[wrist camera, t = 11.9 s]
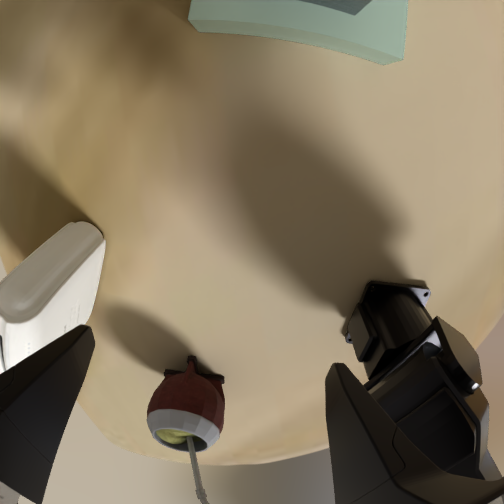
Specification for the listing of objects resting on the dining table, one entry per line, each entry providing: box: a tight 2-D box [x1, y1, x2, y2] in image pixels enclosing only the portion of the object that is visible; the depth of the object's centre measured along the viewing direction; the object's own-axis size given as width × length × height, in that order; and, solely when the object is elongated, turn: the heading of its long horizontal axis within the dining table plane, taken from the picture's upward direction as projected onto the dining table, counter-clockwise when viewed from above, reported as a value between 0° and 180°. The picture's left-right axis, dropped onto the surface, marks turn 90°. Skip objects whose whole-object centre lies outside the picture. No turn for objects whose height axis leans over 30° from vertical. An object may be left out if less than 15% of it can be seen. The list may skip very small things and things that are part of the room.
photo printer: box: [0, 221, 106, 374], centre depth 17 cm, size 10×4×12 cm, turn 152°
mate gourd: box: [147, 356, 225, 504], centre depth 21 cm, size 8×8×15 cm
